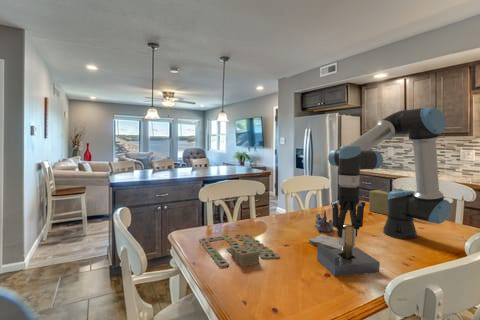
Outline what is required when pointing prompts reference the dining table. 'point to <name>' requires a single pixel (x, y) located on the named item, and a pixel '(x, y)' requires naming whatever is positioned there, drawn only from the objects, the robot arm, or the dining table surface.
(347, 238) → the tan cylinder
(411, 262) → the dining table surface
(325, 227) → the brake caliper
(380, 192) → the cheese
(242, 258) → the pile of dominoes
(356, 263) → the jig
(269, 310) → the dining table surface
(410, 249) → the dining table surface
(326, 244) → the washcloth
